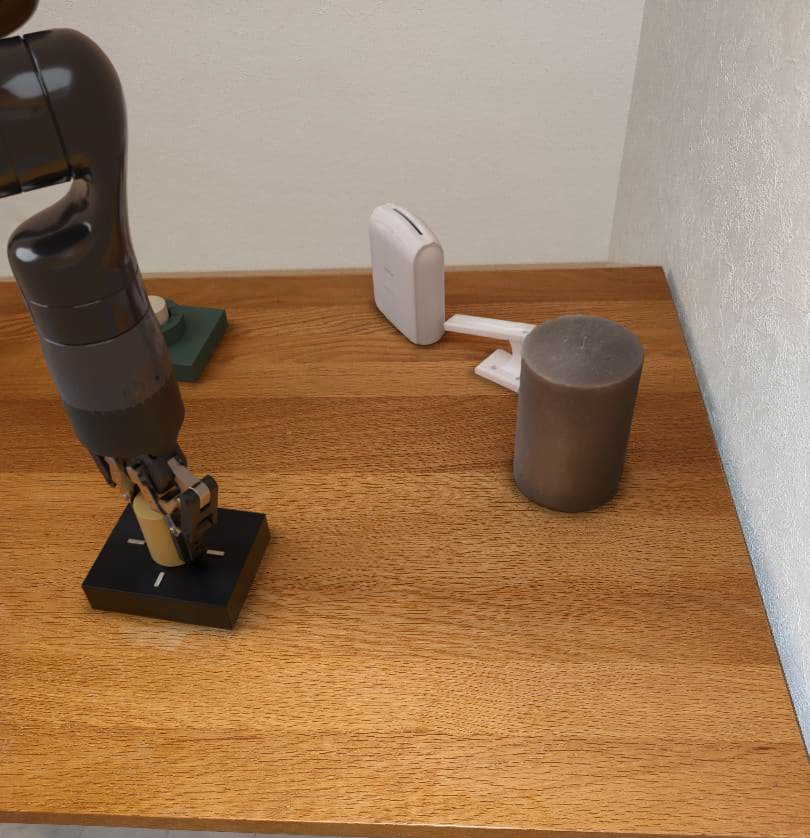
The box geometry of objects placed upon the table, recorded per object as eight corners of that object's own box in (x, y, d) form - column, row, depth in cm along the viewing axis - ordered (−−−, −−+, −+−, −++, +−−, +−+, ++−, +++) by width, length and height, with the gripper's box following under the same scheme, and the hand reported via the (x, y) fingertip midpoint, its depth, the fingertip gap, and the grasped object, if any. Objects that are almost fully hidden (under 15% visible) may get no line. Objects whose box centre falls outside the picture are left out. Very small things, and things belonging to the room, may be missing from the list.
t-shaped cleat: (600, 430, 84) (608, 384, 80) (432, 354, 93) (432, 309, 89) (622, 408, 86) (630, 362, 82) (455, 335, 95) (456, 290, 91)
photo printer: (369, 304, 99) (361, 199, 90) (402, 293, 101) (398, 187, 91) (415, 352, 93) (412, 244, 84) (450, 339, 94) (451, 231, 85)
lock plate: (91, 608, 72) (79, 584, 70) (140, 519, 78) (131, 494, 76) (232, 630, 70) (225, 606, 68) (271, 537, 76) (265, 511, 74)
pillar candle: (637, 502, 78) (669, 362, 66) (529, 522, 77) (543, 382, 65) (598, 430, 84) (621, 291, 73) (498, 447, 83) (506, 309, 72)
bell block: (88, 371, 93) (76, 339, 90) (126, 316, 99) (117, 284, 96) (196, 382, 91) (187, 350, 88) (228, 326, 97) (221, 294, 94)
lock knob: (140, 550, 72) (121, 500, 67) (178, 522, 74) (162, 471, 69) (172, 574, 70) (154, 524, 66) (210, 544, 72) (195, 494, 68)
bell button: (128, 328, 92) (124, 313, 90) (142, 308, 94) (138, 293, 93) (161, 331, 91) (157, 316, 90) (174, 311, 93) (170, 296, 92)
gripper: (229, 382, 57) (270, 555, 70) (93, 306, 64) (154, 477, 76) (136, 446, 54) (198, 616, 66) (3, 358, 60) (82, 529, 73)
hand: (174, 541), depth 71 cm, fingers closed on lock knob, 4 cm apart
